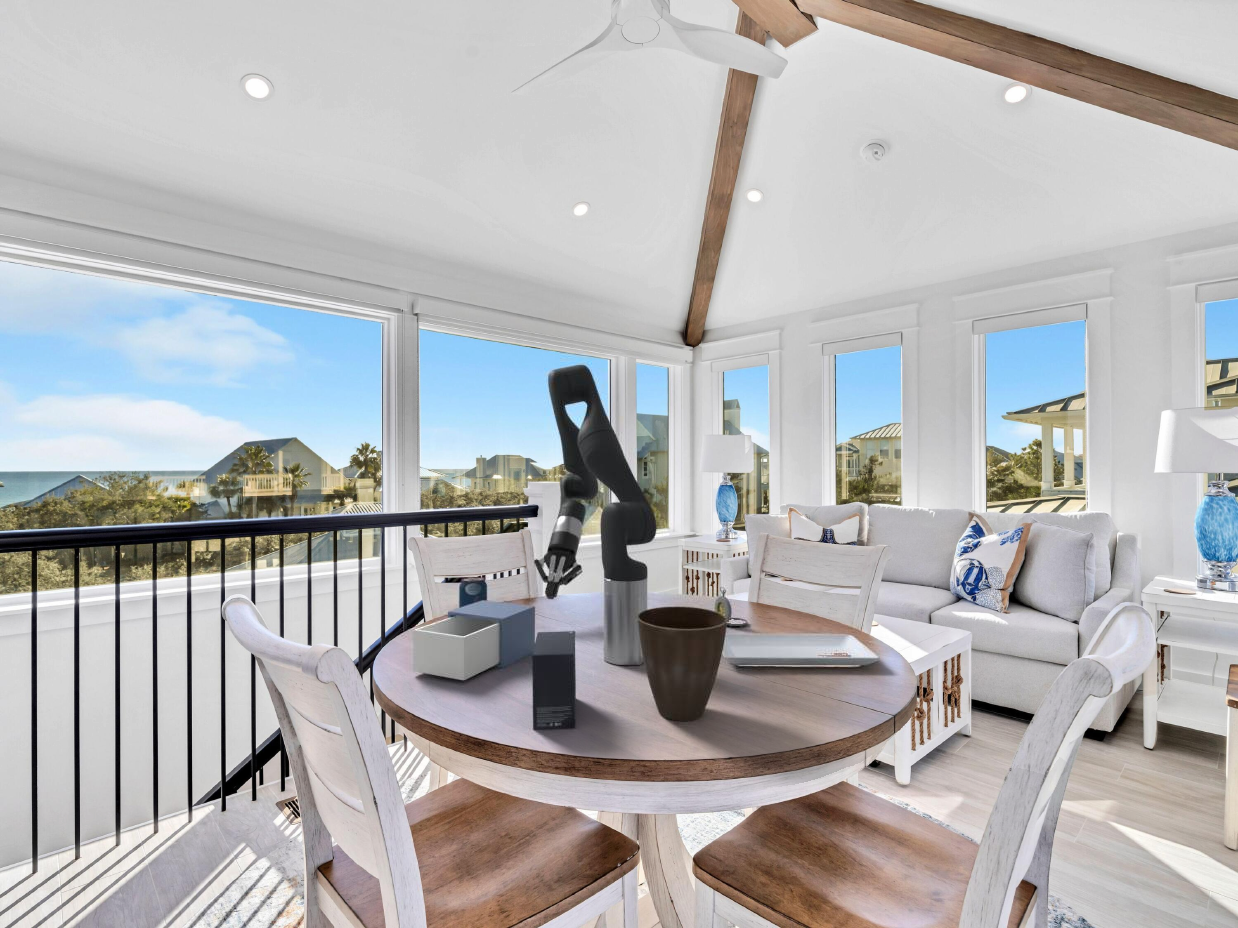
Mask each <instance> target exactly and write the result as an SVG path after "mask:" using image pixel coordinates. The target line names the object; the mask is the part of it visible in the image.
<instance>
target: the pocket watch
mask: <svg viewBox="0 0 1238 928" xmlns="http://www.w3.org/2000/svg"><path fill="white" fill-rule="evenodd" d="M722 589H723V590H722ZM719 591H720V592H721V594H722V595H720V596H718V597H717V598H716V599H715V602H714V611H715V612H718V613H721V614H723V615H724V616H726V617H727V622H729V620H731V619H734V620H742V621H745V622H746V623H743V624H731V623H727V625H729V627H732V626H740V627H744V626H743V625H745V626H747V625H748V624H749V622H748V620H747V619H745V618H741V617H732V614H733V613H732V611H733V610H732V609H733V608H732V605H731V602H730V601H729V599H728V597H726V596H725V594H726V592H727V591H726V588H724V587H723V586H720V587H719ZM746 624H747V625H746Z"/></svg>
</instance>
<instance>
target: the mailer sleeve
mask: <svg viewBox="0 0 1238 928" xmlns="http://www.w3.org/2000/svg"><path fill="white" fill-rule="evenodd" d="M453 616H464V617H472V618H479V619H487V620H495V621H501V624H500V663H498V664H496V665H494V666H492V668H493V667H494V668H500V669H504V668H506V667H508V666H510V665H512V664H515V662H518V661H520V660H522V659H523V658H525V657H527V656H530V655H531V654H533V649H534V646H535V641H536V606H534V605H526V604H518V603H512V602H511V603H510V602H509V603H508V602H501V601H500V602H499V601H492V600H487V601H485V600H482V601H479V602H476V603H473V604H470V605H467V606H464V607H460V608H459V607H458V608H455V609H452V610H448V611H447V618H450V617H453Z"/></svg>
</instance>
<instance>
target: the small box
mask: <svg viewBox="0 0 1238 928" xmlns="http://www.w3.org/2000/svg"><path fill="white" fill-rule="evenodd" d="M536 634H537V635H536V636H535V646H534V649H533V653H532V655H531V663H532V665H531V667H532V669H531V670H532V671H531V672H532V675H531V676H532V677H531V678H532V681H531V682H532V729H533V731H536V730H538V731H539V730H564V729H565V730H568V729H569V730H570V729H571V730H572V729H573V730H575V729H576V727H577V725H576V724H577V722H576V720H577V719H576V718H577V717H576V715H577V714H576V713H577V709H576V708H577V707H576V706H577V705H576V704H577V701H576V700H577V698H576V696H577V695H576V693H577V690H576V688H577V685H576V683H577V682H576V681H577V679H576V677H577V675H576V631H574V630H569V631H567V630H566V631H564V630H563V631H540V632H539V631H538V632H537V633H536Z"/></svg>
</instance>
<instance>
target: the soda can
mask: <svg viewBox="0 0 1238 928" xmlns="http://www.w3.org/2000/svg"><path fill="white" fill-rule="evenodd" d="M458 587H459V588H458V589H459V590H458V594H459V595H458V608H460V607H464V606H467V605H470V604H473V603H476V602H479V601H482V600H485V601H488V584H487V582H486V578H485V577H483V576H468V577H463V578H461V581H460V584H459V586H458Z"/></svg>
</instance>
